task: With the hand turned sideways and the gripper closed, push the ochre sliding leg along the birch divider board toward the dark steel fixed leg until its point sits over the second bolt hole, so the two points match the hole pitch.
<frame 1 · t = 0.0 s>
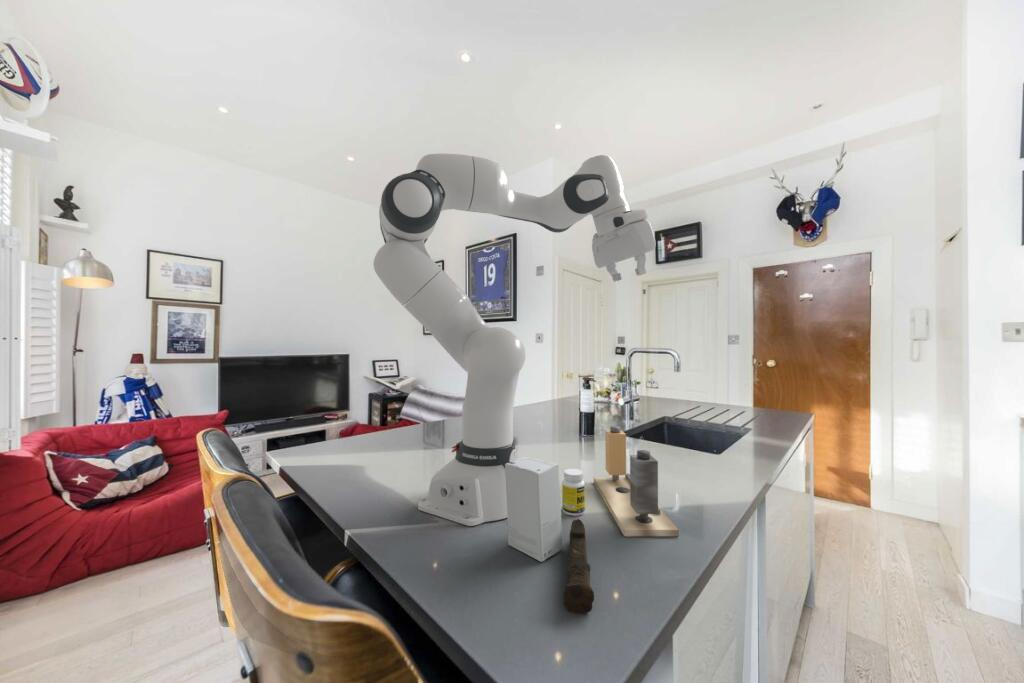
hand: (629, 277, 94), 52 cm above the table, tool tilted 20°, fingers open, 8 cm apart
supplement bottle: (573, 512, 78), on the table
hand tool: (574, 572, 58), on the table
divider board: (629, 505, 81), on the table
sliding leg: (615, 453, 92), point 8 cm above the table, slide at 6.0 cm
skincare box: (533, 548, 65), on the table
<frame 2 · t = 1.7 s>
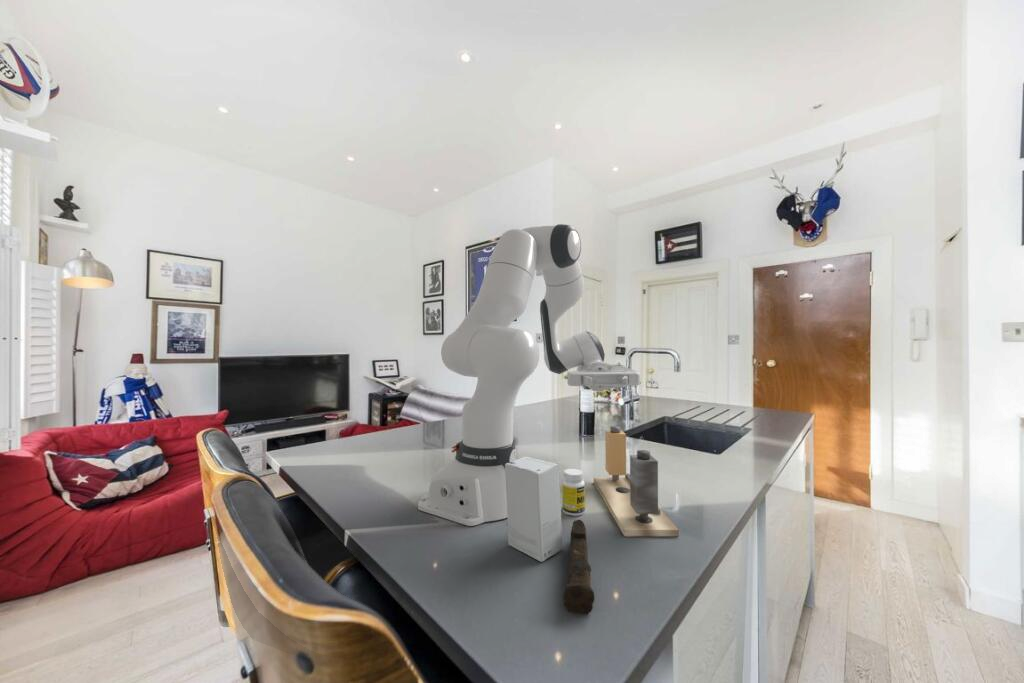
hand: (609, 381, 98), 25 cm above the table, tool horizontal, fingers open, 7 cm apart
nothing on the table moved.
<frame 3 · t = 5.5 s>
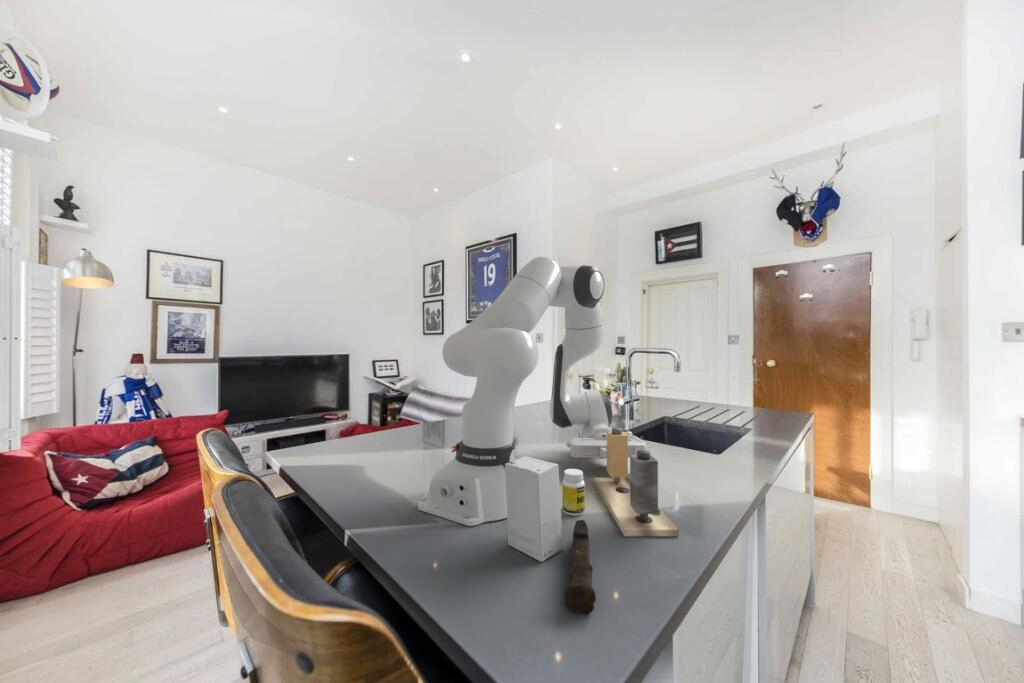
hand: (614, 456, 93), 7 cm above the table, tool horizontal, fingers closed, pressing on sliding leg
sliding leg: (617, 454, 91), point 8 cm above the table, slide at 4.6 cm, touching gripper
everything else where it was.
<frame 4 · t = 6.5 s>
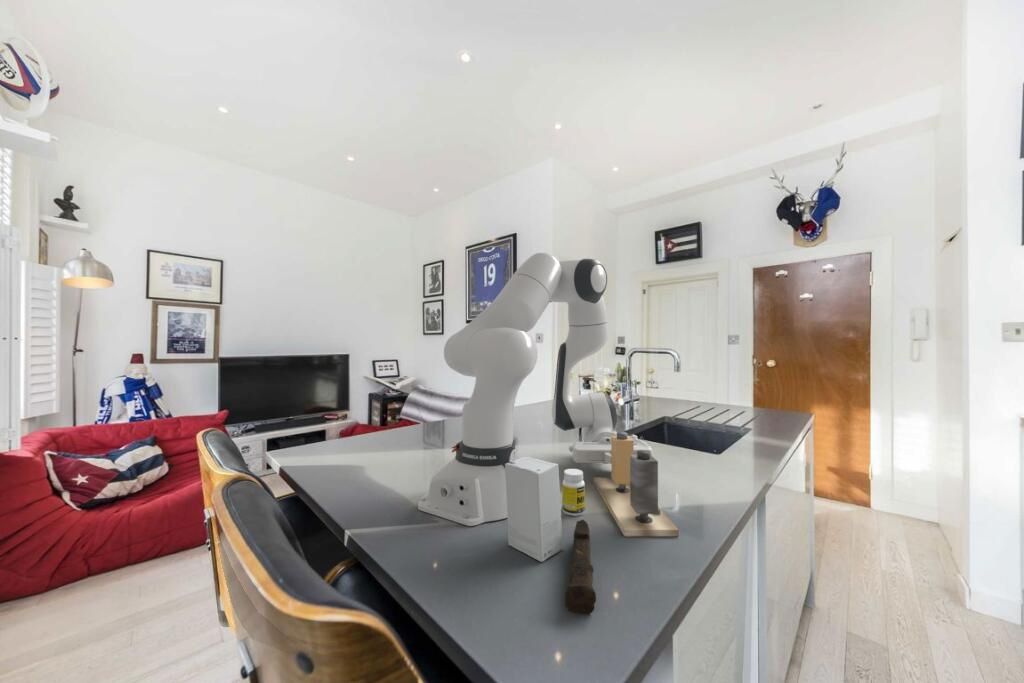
hand: (619, 462, 89), 7 cm above the table, tool horizontal, fingers closed, pressing on sliding leg
sliding leg: (622, 460, 86), point 8 cm above the table, slide at 0.2 cm, touching gripper
everything else where it was.
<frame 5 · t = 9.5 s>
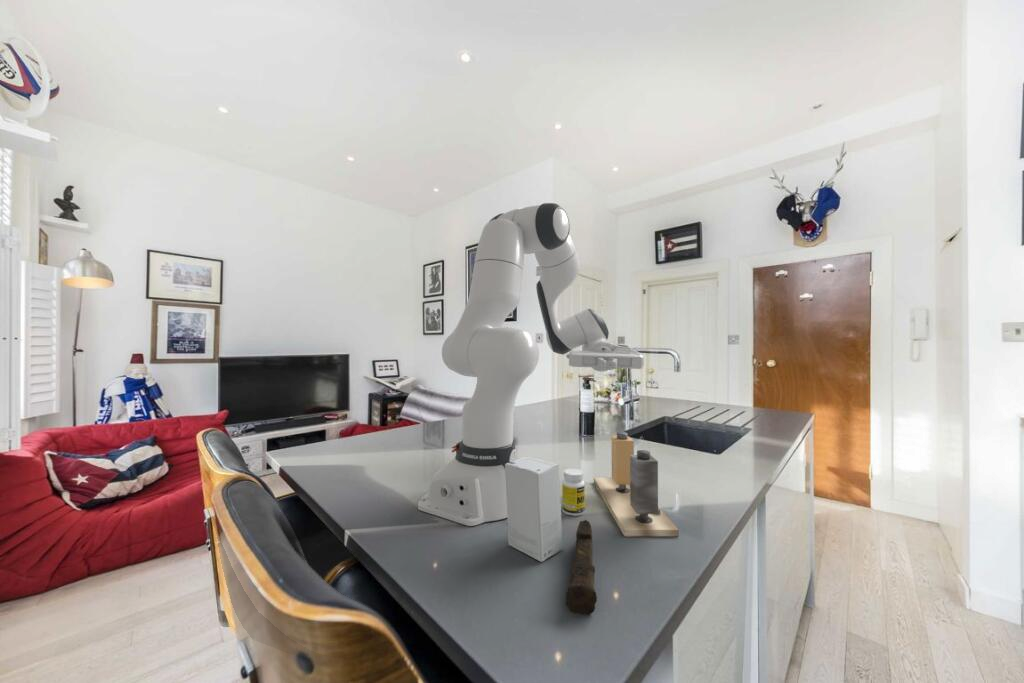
hand: (610, 365, 96), 30 cm above the table, tool horizontal, fingers closed
sliding leg: (622, 460, 86), point 8 cm above the table, slide at 0.1 cm
everything else where it was.
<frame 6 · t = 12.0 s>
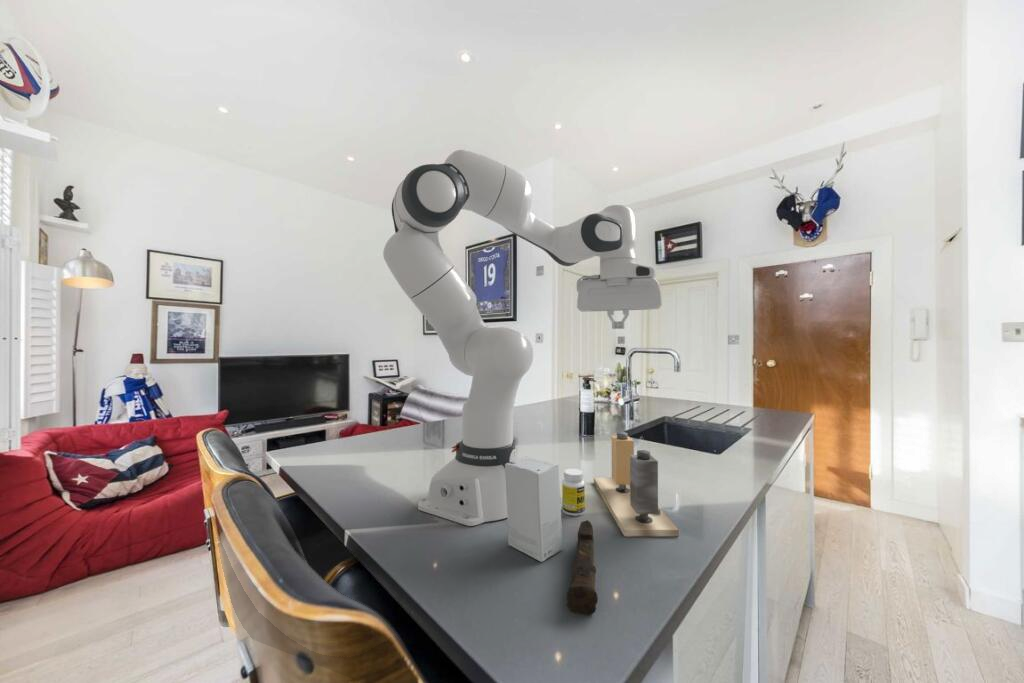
hand: (618, 328, 92), 39 cm above the table, tool pointing down, fingers closed
at the end: sliding leg slide at 0.1 cm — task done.
